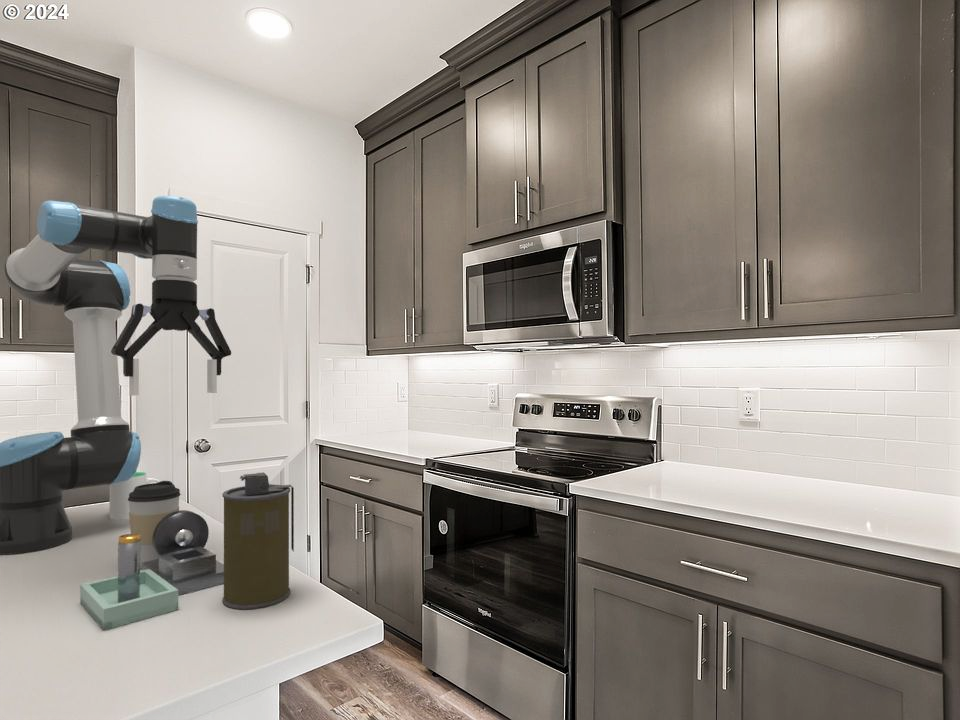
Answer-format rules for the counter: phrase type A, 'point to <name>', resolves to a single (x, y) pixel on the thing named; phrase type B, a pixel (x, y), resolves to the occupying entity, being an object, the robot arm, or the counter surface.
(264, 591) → the canister
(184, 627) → the counter surface
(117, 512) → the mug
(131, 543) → the lock pin
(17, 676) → the counter surface
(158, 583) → the tray
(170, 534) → the tensioner
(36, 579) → the counter surface
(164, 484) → the coffee cup
